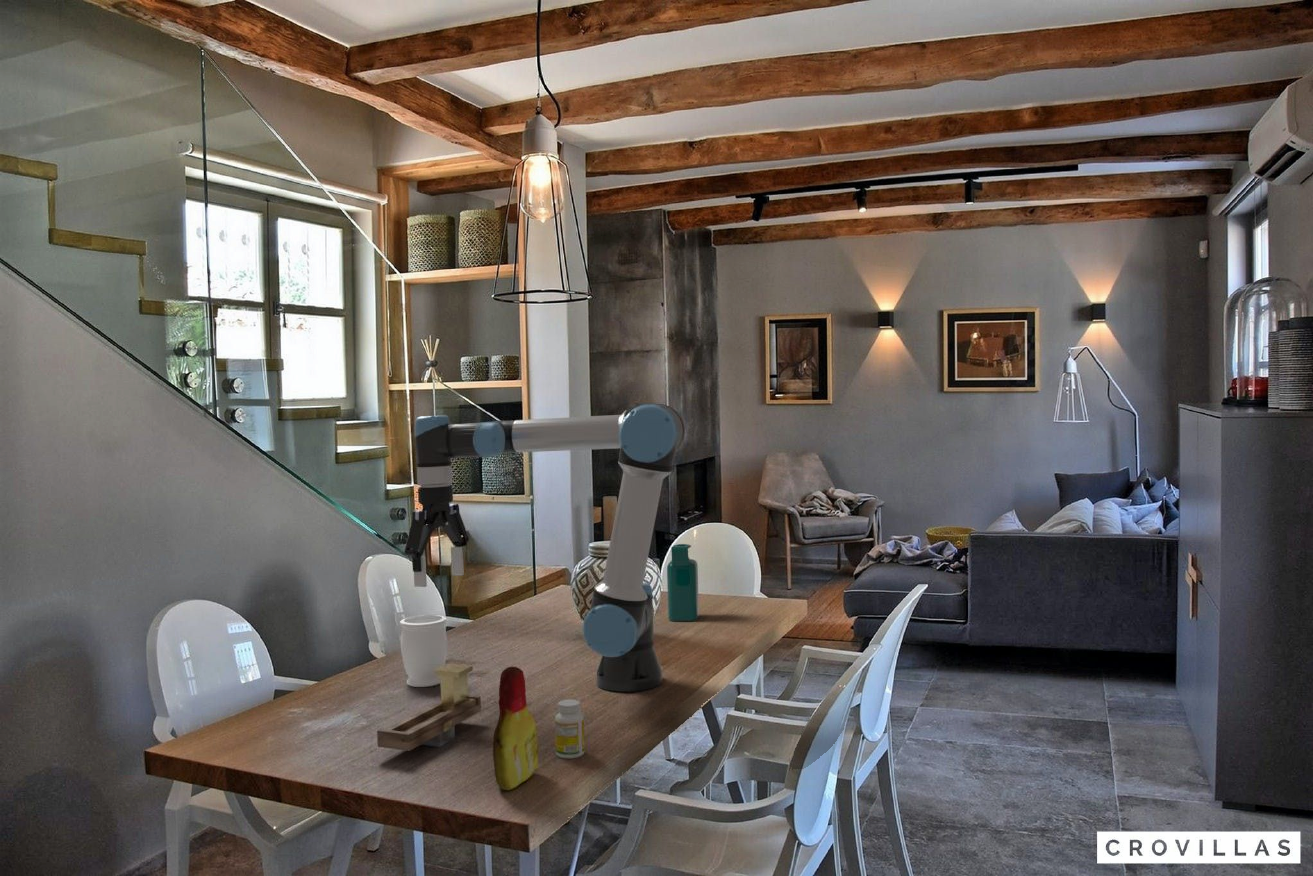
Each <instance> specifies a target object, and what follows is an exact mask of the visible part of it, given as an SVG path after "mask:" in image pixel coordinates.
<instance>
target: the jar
mask: <svg viewBox="0 0 1313 876" xmlns="http://www.w3.org/2000/svg"><path fill="white" fill-rule="evenodd" d="M446 622H447V617H446V616H445V615H444V616H443V615H437V614H423V615H413V616H408V617H405V618H403V619H401V620H400V621H399V625H400V627H401V628H402V631H401V634H400V635H401V637H400V651H401V652H400V653H401V657H402V660H403V661H402V662H403V667H404V671H405V672H406V675H407V676H408V678H407V680H406V684H407V686H409V687H415V688H425V687H427V688H428V687H433V686H437V685H441V681H440V676H438V675H435V670H436V669H438V668H441V667H443V666H445V665H446V661H447V651H448V636H447V632H446V631H447V630H446V628H445V624H446Z"/></svg>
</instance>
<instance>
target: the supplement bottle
mask: <svg viewBox="0 0 1313 876" xmlns="http://www.w3.org/2000/svg"><path fill="white" fill-rule="evenodd" d="M557 709H558V711H559V712H558V713H556V715H555V718H554V724H555V727H554V728H555V753H556V756H557V757H559V758H561V759H575V758H580V757H582V756H583V755H584V754H585V751H586V750H585V749H586V748H585V744H586V743H585V716H584V714H583V712H581V711H580V710H581V702H580V701H579V700H578V699H571V698H570V699H564V700H560V701H558V708H557Z"/></svg>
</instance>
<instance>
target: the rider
mask: <svg viewBox="0 0 1313 876" xmlns="http://www.w3.org/2000/svg"><path fill="white" fill-rule="evenodd" d="M473 670H474V669H473V665H469V664H468V665H467V664H457V663H456V664H455V663H447V664H445V666H443V667H441V668H438V669H436V670H435V675H438V676H440V681H441V683H440V700H441V708H442V710H443V711H448V710H450V709H452V708H454V707H455V706H457V705H459V704H461V703H463V702H465V701H467V700H468V695H469V690H468V689H469V687H468V685H469V683H468V673H471V672H473Z"/></svg>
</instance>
